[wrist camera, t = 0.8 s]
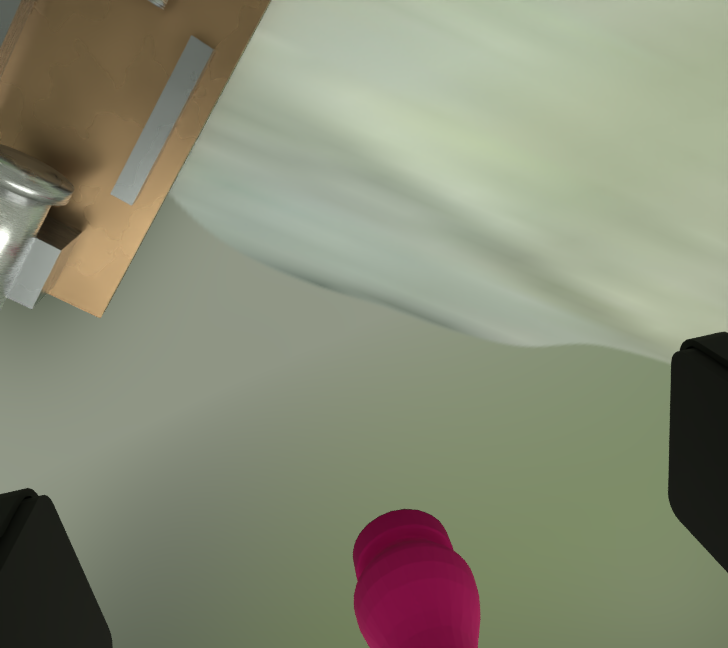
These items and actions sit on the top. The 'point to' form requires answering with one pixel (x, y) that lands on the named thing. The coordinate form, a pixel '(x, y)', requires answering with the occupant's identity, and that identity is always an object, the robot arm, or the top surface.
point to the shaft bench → (101, 130)
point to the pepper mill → (413, 585)
